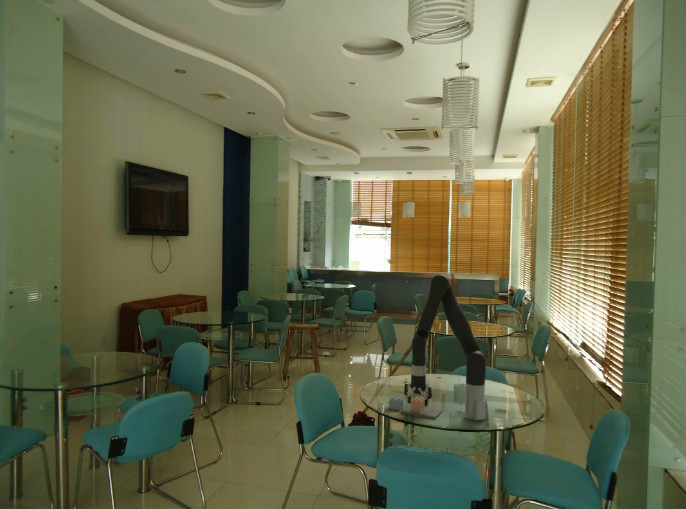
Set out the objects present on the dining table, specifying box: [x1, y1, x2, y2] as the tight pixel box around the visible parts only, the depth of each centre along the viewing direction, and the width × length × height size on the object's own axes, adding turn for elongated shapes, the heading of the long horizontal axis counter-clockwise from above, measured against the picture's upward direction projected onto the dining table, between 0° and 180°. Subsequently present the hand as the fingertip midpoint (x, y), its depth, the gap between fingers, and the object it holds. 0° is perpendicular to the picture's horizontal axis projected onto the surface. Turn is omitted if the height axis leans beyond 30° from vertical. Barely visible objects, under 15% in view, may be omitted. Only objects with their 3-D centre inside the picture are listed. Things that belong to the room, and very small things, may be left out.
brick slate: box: [388, 395, 404, 411], centre depth 271 cm, size 6×5×6 cm
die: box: [425, 377, 433, 393], centre depth 303 cm, size 8×9×10 cm
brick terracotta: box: [410, 396, 425, 412], centre depth 265 cm, size 6×5×6 cm
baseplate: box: [400, 404, 443, 420], centre depth 264 cm, size 18×11×1 cm, turn 63°
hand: (417, 405), depth 265 cm, fingers open, 8 cm apart
